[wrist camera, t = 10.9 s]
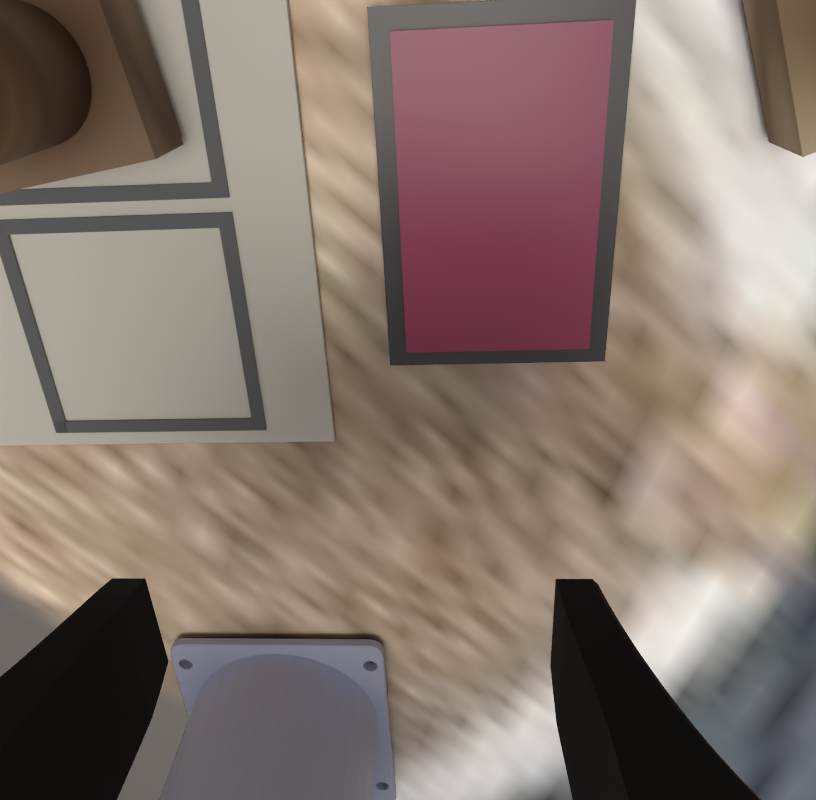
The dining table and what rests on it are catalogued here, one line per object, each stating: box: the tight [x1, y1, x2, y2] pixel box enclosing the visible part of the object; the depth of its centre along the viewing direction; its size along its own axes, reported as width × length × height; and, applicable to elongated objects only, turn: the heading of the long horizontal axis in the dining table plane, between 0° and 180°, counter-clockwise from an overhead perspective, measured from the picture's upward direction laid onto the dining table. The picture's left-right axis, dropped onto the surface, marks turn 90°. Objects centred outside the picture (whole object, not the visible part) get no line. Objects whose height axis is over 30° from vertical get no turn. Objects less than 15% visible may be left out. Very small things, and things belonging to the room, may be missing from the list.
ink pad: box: [367, 0, 636, 365], centre depth 19 cm, size 9×6×1 cm, turn 3°
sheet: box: [0, 0, 335, 445], centre depth 20 cm, size 15×11×1 cm
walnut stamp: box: [0, 0, 184, 194], centre depth 16 cm, size 4×4×6 cm
